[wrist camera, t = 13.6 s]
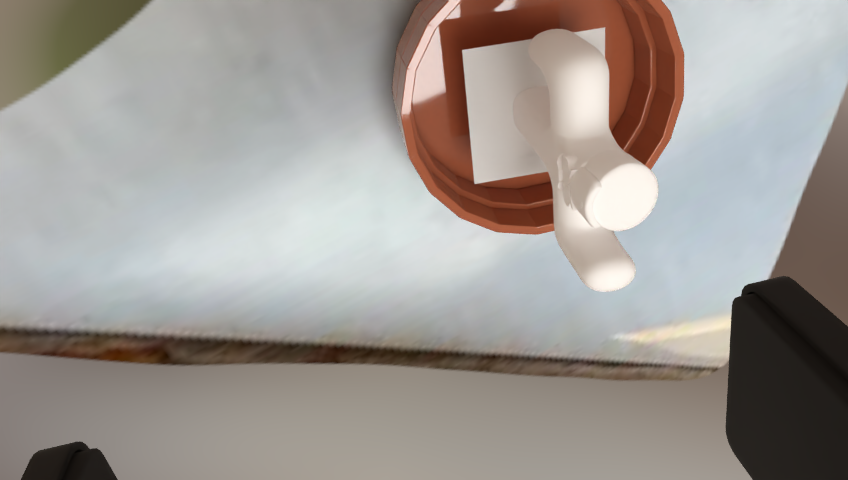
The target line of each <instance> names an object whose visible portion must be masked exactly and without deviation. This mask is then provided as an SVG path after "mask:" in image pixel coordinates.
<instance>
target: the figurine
mask: <svg viewBox="0 0 848 480" xmlns="http://www.w3.org/2000/svg"><path fill="white" fill-rule="evenodd" d="M462 56H463V66H464V77H465V88H466V98H467V109H468V120H469V131H470V141H471V152H472V163H473V174H474V184H478V183H484V182H490V181H495V180H501V179H507V178H513V177H519V176H525V175H530V174H536V173H542V172H548V173H549V176H550V179H551V183H552V189H553V216H554V231H555V235H556V239H557V241H558V244H559V245H560V247H561V249H562V251H563V252H564V254H565V256H566V257H567V259H568V260H569V262H570V263H571V265H572V266H573V268H574V269H575V271H576V272H577V274H578V276H579V277H580V279H581V280H582V281H583V283H584V284H585V285H586V286H588V287H589V288H591V289H593V290H596V291H601V292H608V291H615V290H618V289H621V288H623V287H625V286H627V285H628V284H629V283H630V282H631V281H632V280H633V279H634V276H635V273H636V269H635V264H634V262H633V260H632V259H631V257H630V256H629V255H628V254H627V252H626V251H625V250H624V248H623V247H622V245H621V244H620V242H619V241H618V239H617V237H616V236H615V234H614V231H624V230H627V229H630V228H633V227H635V226H636V225H638V224H639V223H641V222H642V221H643V220H644V219H645V218H646V217H647V216H648V215H649V214H650V212H651V211H652V209H653V208H654V206H655V204H656V201H657V197H658V182H657V179H656V177H655V175H654V173H653V172H652V171H651V170H650V169H649V168H648V167H647V166H645V165H644V164H642V163H641V162H639V161H638V160H637V159H635V158H634V157H632V156H631V155H630V154H628V153H626V152H625V151H623V150H622V149H621V148H620V147H619V145H618V144H617V142H616V141H615V139H614V137H613V135H612V133H611V131H610V128H609V68H608V64H607V61H606V59H605V28H599V29H592V30H586V31H580V32H571V31H568V30H565V29H551V30H546V31H544V32H541V33H539V34H537V35H536V36H535V37H534V38H533V39H529V40H523V41H516V42H510V43H504V44H497V45H491V46H485V47H478V48H472V49H466V50H462Z"/></svg>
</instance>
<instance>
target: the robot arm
mask: <svg viewBox="0 0 848 480" xmlns="http://www.w3.org/2000/svg"><path fill="white" fill-rule="evenodd" d="M726 434H727V439H728V442H729V444H730V446H731V449H732V451H733V452H734V454H735V455H736V457H737V458H738V460H739V461H740V462H741V464H742V465H743V467H744V468H745V469H746V471H747V472H748V473H749V475H750V476H751V478H752V479H753V480H848V326H847V325H845V324H844V323H843V322H842V321H841V320H840V319H838V318H837V317H836V316H835V315H834V314H833V313H831V312H830V311H829V310H828V309H827V308H825V307H824V306H823V305H822V304H821V303H820V302H819V301H818V300H816V299H815V298H814V297H813V296H812V295H811V294H809V293H808V292H807V291H806V290H804V288H802V287H801V286H800V285H799V284H798V283H797V282H795V281H794V280H793V279H791V278H790V277H786V276H782V277H777V278H773V279H769V280H764V281H760V282H756V283H752V284H748V285H746V286H745V287H744V288H743V290H742V294H741V296H740V297H737V298H735V299H734V301H733V304H732V317H731V336H730V355H729V375H728V394H727V413H726ZM21 480H117V478H116V476H115V474H114V473H113V471H112V469H111V467H110V466H109V464H108V462H107V460H106V459H105V457H104V455H103V454H102V452H101V451H100V450H98V449H97V448H96V449H89V448H88V446H87V445H86V444H84V443H83V442H74V443H70V444H65V445H61V446H57V447H52V448H48V449H44V450H40V451H38V452H36V453H35V454H34V455H33V457H32V458H31V459H30V462H29V464H28V466H27V468H26V470H25V472H24V474H23V477H22V478H21Z"/></svg>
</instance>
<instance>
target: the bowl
mask: <svg viewBox="0 0 848 480" xmlns="http://www.w3.org/2000/svg"><path fill="white" fill-rule="evenodd" d="M599 28H605V59H606V61H607V64H608V68H609V128H610V131H611V133H612V135H613V137H614V139H615V141H616V142H617V144H618V145H619V147H620V148H621V149H622V150H623V151H625V152H626V153H628V154H630V155H631V156H632V157H634V158H635V159H637V160H638V161H639V162H641V163H642V164H644V165H645V166H647V167H648V168H649V169H650V170H651V169H652V167H653V166H654V164H655V162H656V161H657V159H658V158H659V156H660V155H661V153H662V152H663V150H664V149H665V147H666V146H667V144H668V142H669V141H670V139H671V136H672V133H673V130H674V126H675V123H676V120H677V117H678V114H679V111H680V107H681V104H682V101H683V97H684V51H683V48H682V45H681V42H680V39H679V36H678V33H677V30H676V27H675V24H674V21H673V18H672V14H671V12H670V10H669V9H668V8H667V7H666V5H665V4H664V3H663V2H662V0H421V1H420V2H419V3H418V4H417V5H416V7H415V9H414V11H413V13H412V15H411V17H410V20H409V22H408V24H407V26H406V28H405V31H404V33H403V35H402V37H401V39H400V42H399V44H398V46H397V50H396V58H395V67H394V75H393V83H392V94H393V99H394V104H395V109H396V114H397V119H398V124H399V129H400V132H401V135H402V138H403V141H404V144H405V147H406V150H407V153H408V156H409V159H410V160H411V162H412V164H413V165H414V167H415V169H416V170H417V172H418V174H419V175H420V177H421V179H422V181H423V182H424V184H425V186H426V187H427V189H428V191H429V192H430V193H431V194H432V195H433V196H434V197H435V198H437V199H438V200H439V201H440V202H441V203H443V204H444V205H445V206H446V207H447V208H449V209H450V210H451V211H452V212H453V213H455V214H456V215H457V216H458V217H460V218H461V219H464V220H466V221H469V222H472V223H474V224H477V225H479V226H482V227H485V228H487V229H490V230H492V231H495V232H502V233H519V234H535V235H536V234H542V233H546V232H550V231H554V216H553V189H552V183H551V179H550V176H549V173H548V172H542V173H536V174H530V175H525V176H519V177H513V178H507V179H501V180H495V181H490V182H484V183H478V184H474V174H473V163H472V152H471V141H470V131H469V120H468V109H467V98H466V88H465V77H464V66H463V56H462V50H466V49H472V48H478V47H485V46H491V45H497V44H504V43H510V42H516V41H523V40H529V39H533V38H534V37H535V36H536V35H537V34H539V33H541V32H544V31H546V30H551V29H565V30H568V31H571V32H580V31H586V30H592V29H599Z"/></svg>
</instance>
